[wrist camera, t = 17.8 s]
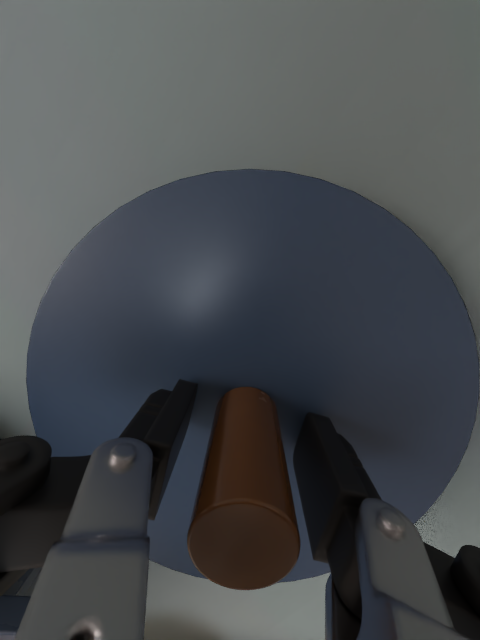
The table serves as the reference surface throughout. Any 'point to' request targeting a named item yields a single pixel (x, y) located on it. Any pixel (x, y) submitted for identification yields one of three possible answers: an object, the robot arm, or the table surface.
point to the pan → (16, 603)
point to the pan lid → (257, 357)
